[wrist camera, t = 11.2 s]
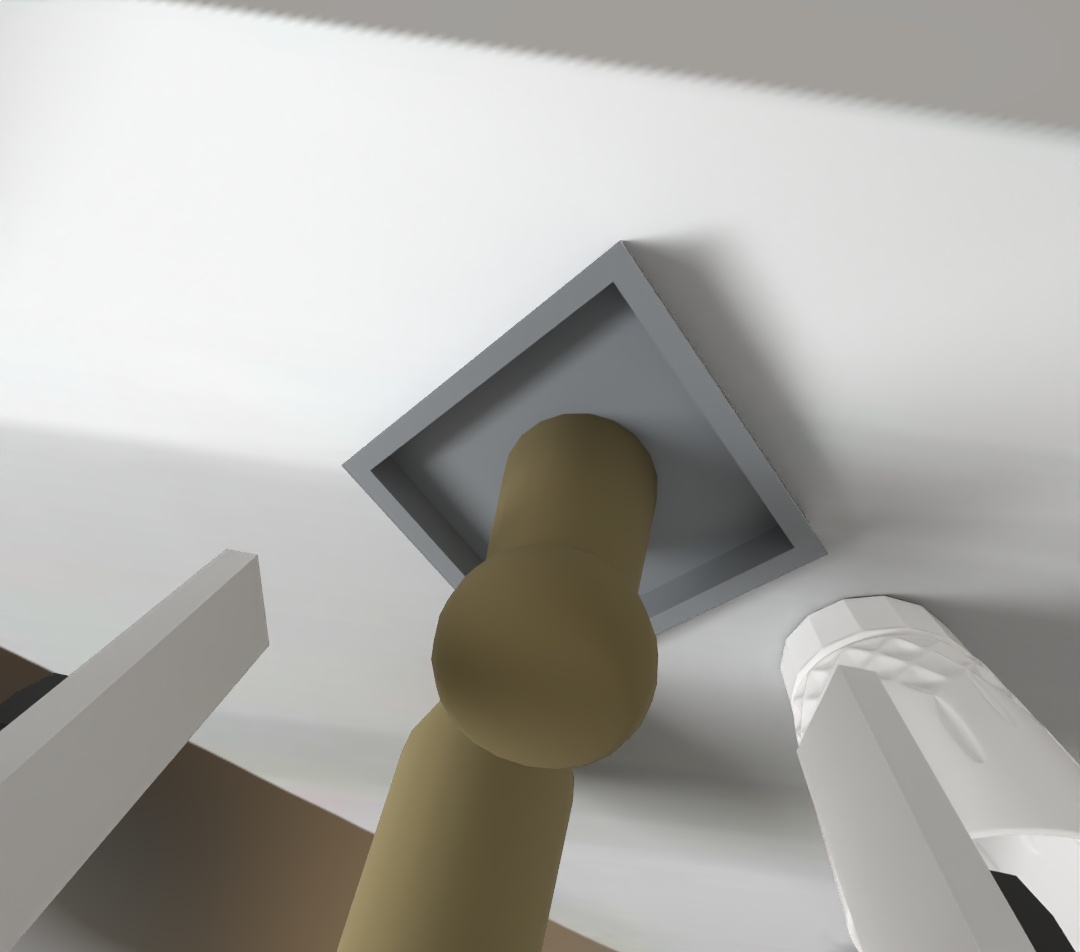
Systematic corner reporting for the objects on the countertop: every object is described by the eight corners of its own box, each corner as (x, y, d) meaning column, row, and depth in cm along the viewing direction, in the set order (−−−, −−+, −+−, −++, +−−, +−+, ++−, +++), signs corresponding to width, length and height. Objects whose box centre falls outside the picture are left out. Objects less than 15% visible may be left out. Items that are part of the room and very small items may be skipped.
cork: (486, 426, 20) (350, 605, 10) (646, 400, 19) (663, 577, 9) (522, 560, 23) (437, 813, 13) (667, 545, 21) (699, 814, 11)
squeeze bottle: (611, 743, 27) (583, 1485, 11) (485, 782, 30) (314, 1423, 14) (525, 628, 25) (334, 1340, 9) (398, 681, 28) (74, 1301, 12)
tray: (370, 442, 22) (341, 465, 20) (621, 240, 18) (619, 241, 16) (551, 647, 25) (544, 687, 23) (806, 519, 21) (828, 553, 19)
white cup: (973, 571, 21) (1240, 830, 12) (962, 721, 24) (1168, 1022, 14) (758, 592, 22) (844, 830, 13) (772, 729, 25) (850, 1000, 16)
